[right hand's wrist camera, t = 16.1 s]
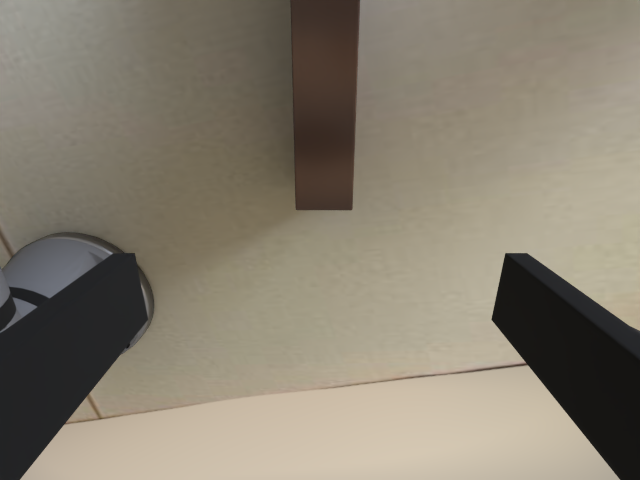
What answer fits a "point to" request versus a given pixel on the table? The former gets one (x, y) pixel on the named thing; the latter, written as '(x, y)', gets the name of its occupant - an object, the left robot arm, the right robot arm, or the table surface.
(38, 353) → the right robot arm
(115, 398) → the table surface
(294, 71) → the beam
